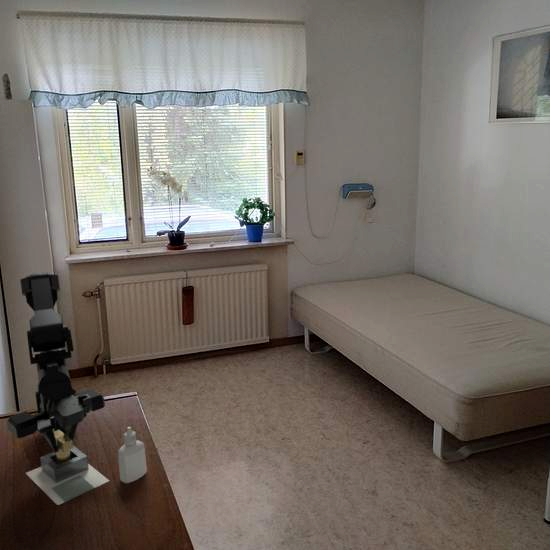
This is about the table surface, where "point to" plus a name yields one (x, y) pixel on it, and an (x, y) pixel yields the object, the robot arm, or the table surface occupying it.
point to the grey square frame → (64, 465)
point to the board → (47, 483)
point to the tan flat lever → (63, 447)
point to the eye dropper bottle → (131, 458)
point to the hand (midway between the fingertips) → (62, 448)
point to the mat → (72, 488)
